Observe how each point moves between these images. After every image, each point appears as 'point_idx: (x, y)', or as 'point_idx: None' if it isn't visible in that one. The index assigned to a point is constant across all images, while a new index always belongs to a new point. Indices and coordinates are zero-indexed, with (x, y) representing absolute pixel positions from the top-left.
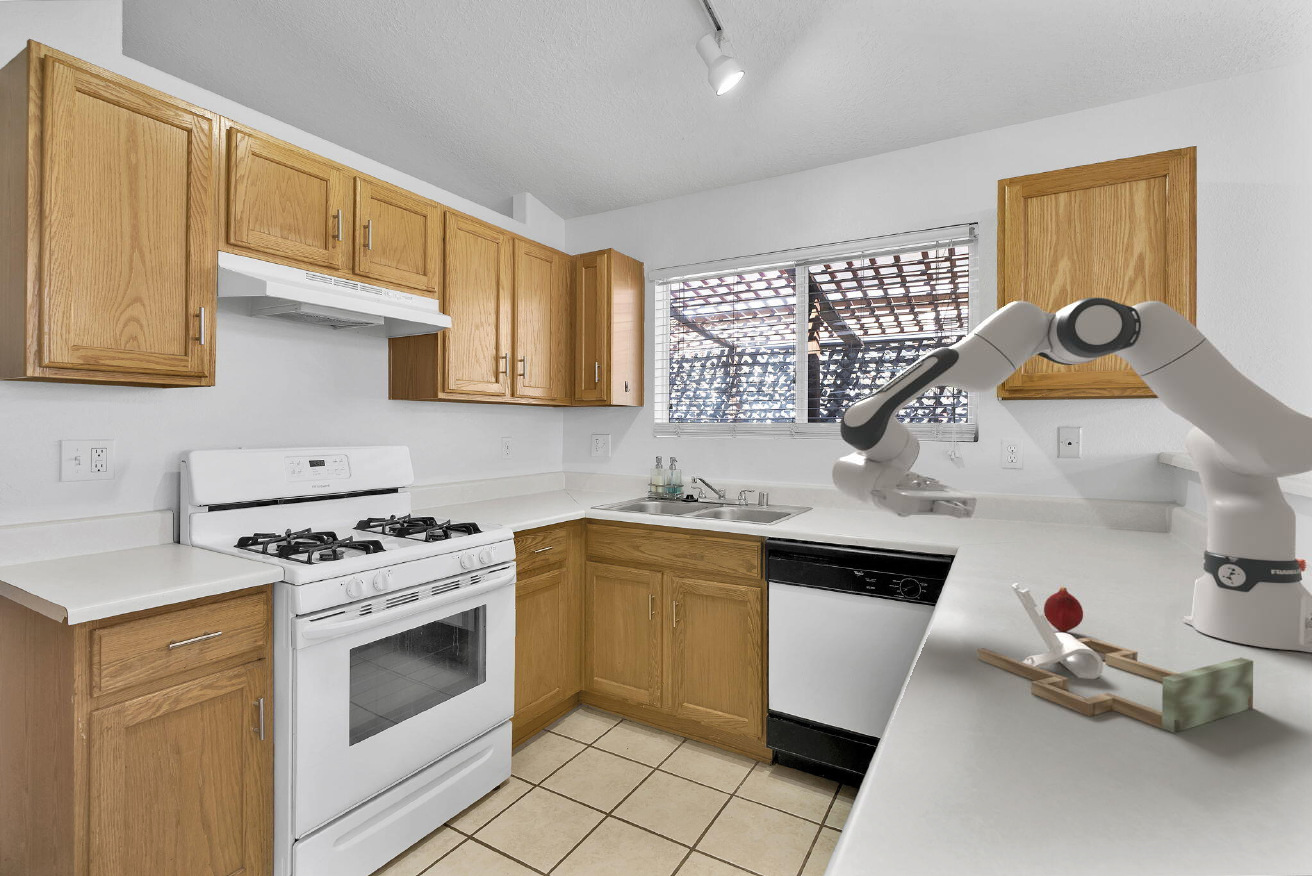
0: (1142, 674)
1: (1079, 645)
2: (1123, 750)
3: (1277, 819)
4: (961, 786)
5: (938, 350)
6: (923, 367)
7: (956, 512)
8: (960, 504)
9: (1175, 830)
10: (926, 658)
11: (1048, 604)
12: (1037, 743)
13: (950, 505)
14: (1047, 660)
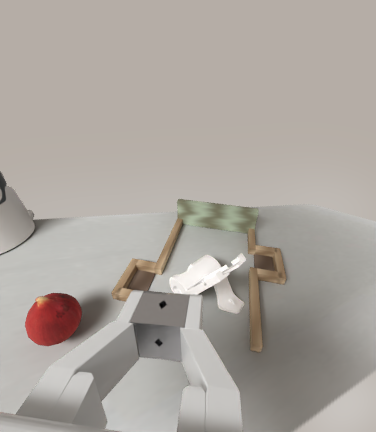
0: (169, 254)
1: (207, 262)
2: (298, 237)
3: (290, 207)
4: None
5: None
6: None
7: (201, 328)
8: (95, 342)
9: (336, 218)
10: (329, 401)
11: (63, 325)
12: (343, 258)
13: (209, 341)
14: (229, 286)
